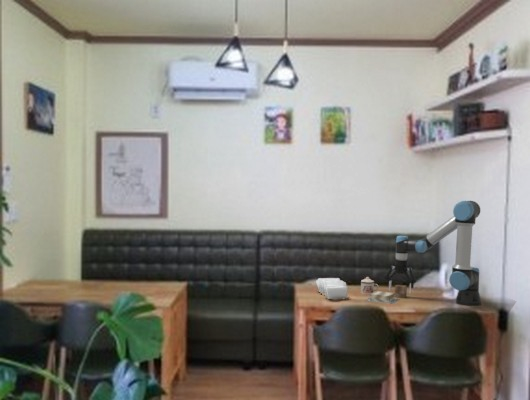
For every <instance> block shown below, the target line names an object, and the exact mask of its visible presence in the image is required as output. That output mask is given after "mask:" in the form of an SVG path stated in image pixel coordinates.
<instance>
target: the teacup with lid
mask: <svg viewBox="0 0 530 400" xmlns="http://www.w3.org/2000/svg"><path fill="white" fill-rule="evenodd" d="M375 286H377V287H376V289H375ZM379 287H380V286H379V285H378V284H377V283H375V281H374V280H372V279H371V278H370V277H369V276H366V277H365V278H364V279H361V281H360V294H361V295H365V296H370V294H372V293H374V292H376V291H378V290H379Z"/></svg>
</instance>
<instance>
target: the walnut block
mask: <svg viewBox="0 0 530 400" xmlns="http://www.w3.org/2000/svg"><path fill="white" fill-rule="evenodd" d="M407 289H408V288H407V285H404V284H395V285H394V293H395V299H406V298H407V297H408V296H407V293H408V292H407Z"/></svg>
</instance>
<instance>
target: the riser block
mask: <svg viewBox="0 0 530 400" xmlns="http://www.w3.org/2000/svg"><path fill="white" fill-rule="evenodd" d="M369 298H370V300H371V301H370V302H373V301H379V302H378V303H381V302H387V303H386V304H389V302H391V301H392V300H394V299H396V297H395V292H387V291H378V290H377V291H374V293H372V294H370V295H369Z"/></svg>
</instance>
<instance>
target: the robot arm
mask: <svg viewBox="0 0 530 400" xmlns="http://www.w3.org/2000/svg"><path fill="white" fill-rule="evenodd" d="M480 213H481V206H480V205H479V204H478V203H477V202H476V201H474V200H461V201H458V202H457V203H456V204H455V205H454V206H453V210H452V215H453V216H452V217H450V218H449V219H448V220H446V221H445V222H444V223H442V224H441V225H439V226H438V227H437V228H435V229H433V231H431V232H430V233H428V234H427V235H426V236H424V237H423V238H422V239H409V237H408V236H407V235H397V236H396V238H395V239H396V240H395V262H394V263H395V265H390V267H389V271H388V272H387V274H386V275H385V277H384V280H387V286H388V291H390V292H391V291H392V282H393V280H392V279H393V278H394V277H395V276H396V274H399V275H400V274H401V275H404V276H406V278H407V280H408V281H409V294H411V293H412V291H413V289H414V285H415V283H417V279H416V276H415V274H414V271H413V268H412V267H408V260H407V259H408V254H409V253H408V252H415V253H420V254H421V253H425V252H426V251H429V250H430V249H432V247H433V246H434V245H436V244H437V243H438V242H441V241H442V240H443V239H444V238H446V237H447V236H449V235H450V234H451V233H453V232H455V231H456V242H455V243H456V245H455V264H454V265H452V268H451V271H452V272H451V273H450V275H449V278H448V279H449V281H448V282H449V284H450V286H451V287H452V288H453V289H455V290H457V291H458V292H457V294H456V298H455V303H456V304H459V305H464V306H481V305H482V298H481V295H480V292H479V291H480V269H479V268H478V267H475V266H471V260H472V259H471V257H472V256H471V255H472V241H473V240H472V239H473V237H472V236H473V226H475V225H476V219H477V218H478V217H479V216H480ZM393 270H395V271H394V272H393V273H392V271H393ZM408 272H409V273H408Z"/></svg>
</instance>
